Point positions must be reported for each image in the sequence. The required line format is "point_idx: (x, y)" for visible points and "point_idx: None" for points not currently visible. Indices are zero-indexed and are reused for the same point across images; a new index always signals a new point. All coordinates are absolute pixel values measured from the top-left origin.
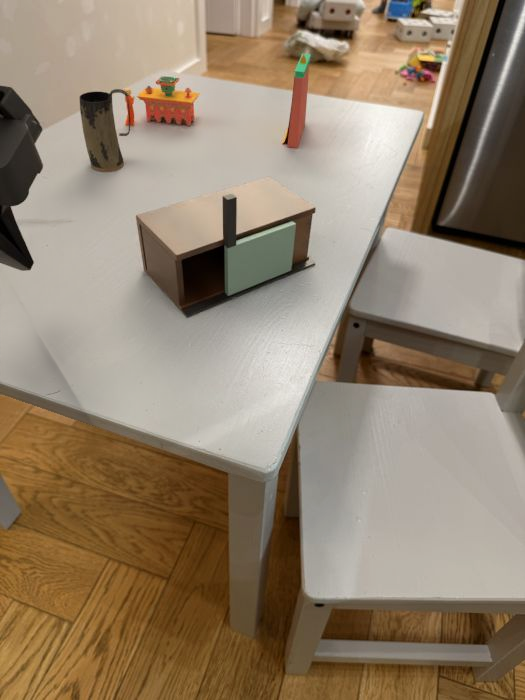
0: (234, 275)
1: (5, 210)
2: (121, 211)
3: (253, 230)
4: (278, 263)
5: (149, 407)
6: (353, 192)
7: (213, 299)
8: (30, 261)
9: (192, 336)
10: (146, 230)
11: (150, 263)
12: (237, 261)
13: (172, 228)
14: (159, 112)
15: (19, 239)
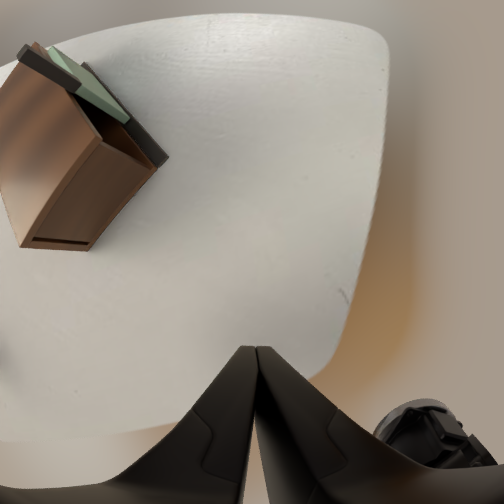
0: (108, 100)
1: (176, 491)
2: (14, 313)
3: None
4: (88, 74)
5: (347, 154)
6: None
7: (135, 134)
8: (251, 351)
9: (204, 137)
10: (41, 221)
11: (83, 229)
12: (93, 89)
13: (40, 175)
14: None
15: (229, 394)
